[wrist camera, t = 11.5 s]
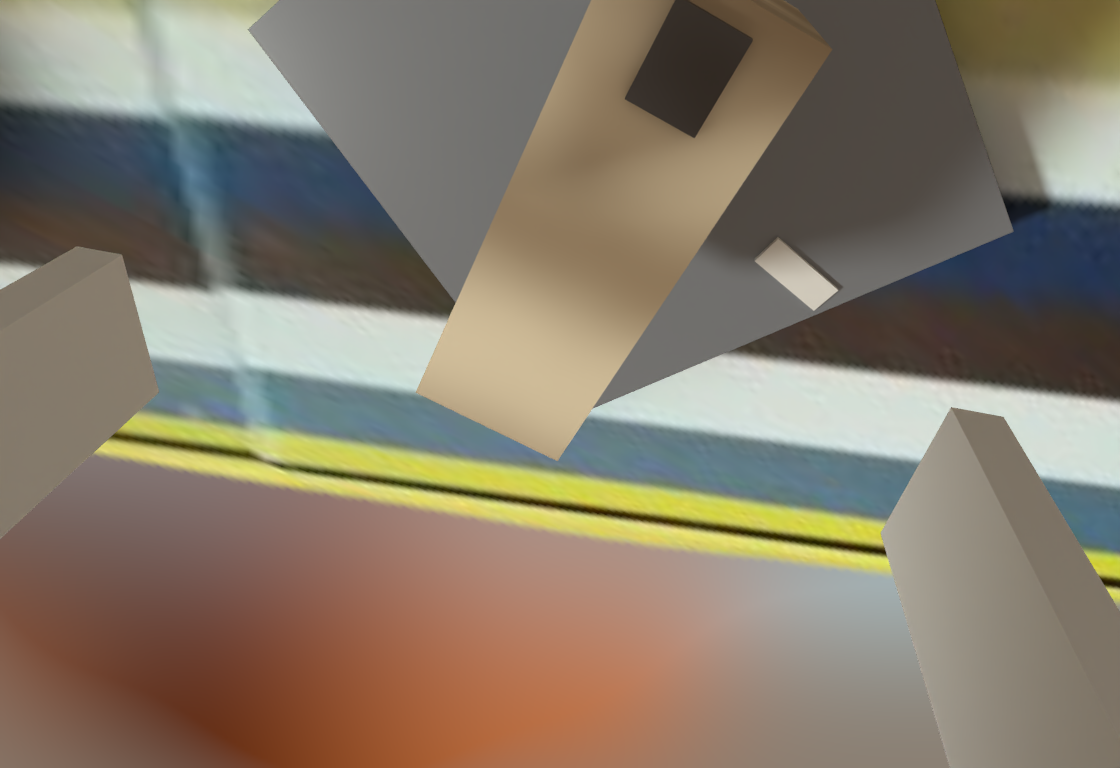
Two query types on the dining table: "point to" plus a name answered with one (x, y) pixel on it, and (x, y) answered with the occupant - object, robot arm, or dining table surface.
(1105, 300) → the dining table surface
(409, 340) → the dining table surface
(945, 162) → the lock base
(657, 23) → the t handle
